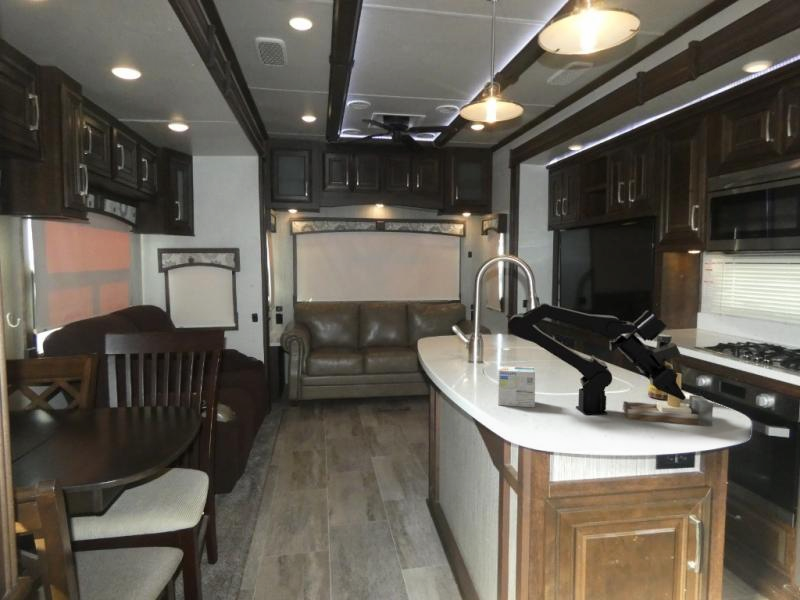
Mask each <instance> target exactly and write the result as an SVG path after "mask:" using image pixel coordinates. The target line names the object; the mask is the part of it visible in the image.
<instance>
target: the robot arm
mask: <svg viewBox="0 0 800 600" xmlns="http://www.w3.org/2000/svg"><path fill="white" fill-rule="evenodd" d="M544 319H551V320H554V321H559V322H563V323H566V324H570V325H575V326H579V327H582V328H586V329H588V330H591V331H593V332H594V333H597V334H599V335H601V336H604V337H606V338H608V339H615V340H609V341H608V342H609V350H610V351H611V352H612V353H614V352H615V351H616V350H617V349H618V350H619V351H620V352H621V353H622V354H623V355H625V357H626V358H627V360H629V361H630V362H631V363H632V364H633V365H634V366H635V367H636V368H637V369H638V370H639V371H640V373H641V374H642V375H643V376H644V377H645V378H647V379H648V381H649V380H650V382H651V383H652V384H653V385H654V386H655V387H656V388H657V389H658V390H661V391H663V392H665V393H668V394H670V395H672V396H674V397H677V398H679V399H680V401H681V400H682V401H683V400H686V398H687V397H686V395H685V394H684V392H683V391H682V388H681V389H680V388H679V386H678V384H677V383H676V378H677V375H678V374H677V373H678V372H676V371H675V370H674V369H672V368H670V367H669V366H666V365H665V364H666V363H665V362H664V361H667V360H669V359H672V358H673V359H674V358H677V359H678V358H679V357H681V356H682V354H681V352H680V350H679V348H678V345H677V344H676V343H674V342H670V343H669V344H667V343H666V342H665V341H660V342H658V348H657V347H656V346H655V348H654V349H651V348H650V347H649V346H647V345H646V344H644V343H643V341H644V342H646V341H649V342H652V341H653V340H655V339H657V336H658V335H659V334H662V333H663V332H664V331H665V330H667V329H668V328H669V327H668V325H666V324H665V322H663V321H662V320H661V319H660V318H658V317H657V316H656V315H655V314H653V313H652V312H651V311H650V310H645V311H644V312H643V313H642V314H641V316H639V317H638V318H637V319H636V320H635V321H633V322H630V321H624V320H620V319H619V318H618V317H616V316H614V315H608V314H589V313H586V312H585V313H584V312H581V311H577V310H572V309H568V308H563V307H561V306H556V305H551V304H550V303H546V302H543V303H540V304H539V305H537V306H536V307H534V308H531V309H530V310H528V311H526V312H524V313H522V314H521V313H520V314H519V313H518V314H514V315H512V316H511V317H510V318H509V322H508V323H507V328H508V332H509V333H510V334H511V335H513V336H514V337H517V338H519V339H523V340H524V341H529V342H531V343H534V344H536V345H537V346H539V347H540V348H542V349H543V350H546V351H547V352H549V354H552V355H553V356H555V357H557V359H559V360H561V361H563V362H564V363H566V364H568V365H570V366H571V367H572V368H574V369H575V370H577V372H579V373H580V375H582V377H581V378H579V380H580V384H581V386H582V388H578V402H577V403H578V405H576V406H575V409H576V410H578V411H579V412H581V414H582V413H583V414H584V415H607V414H608V412H607V411H606V409H607V395H606V390H605V389H606V388H607V387H609V386H610V385H611V384H612V382H613V375H612V374H613V373H611V371H610V370H609V367H608V365H607V364H606V362H604V361H602V360H599V359H598V358H597V357H596V356H594V355H591V356H590V358H588V357H585V356H583V355H580V354H579V353H577V351H574V350H573V349H571V348H570V347H568V346H566V345H565V344H563V343H562V342H560V341H558V340H557V339H554V338H553V337H551V336H550V335H548V334H547V333H545V332H543V331H542V330H541V329H540V328H539V327H538V326H536V325H537V324H538V323H539V322H541V321H543V320H544ZM623 334H625V335H623ZM635 334H637V335H638V337H637V335H635ZM639 337H640V338H641V339H642V340H643V341H642V340H641V339H640V338H639Z"/></svg>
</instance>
